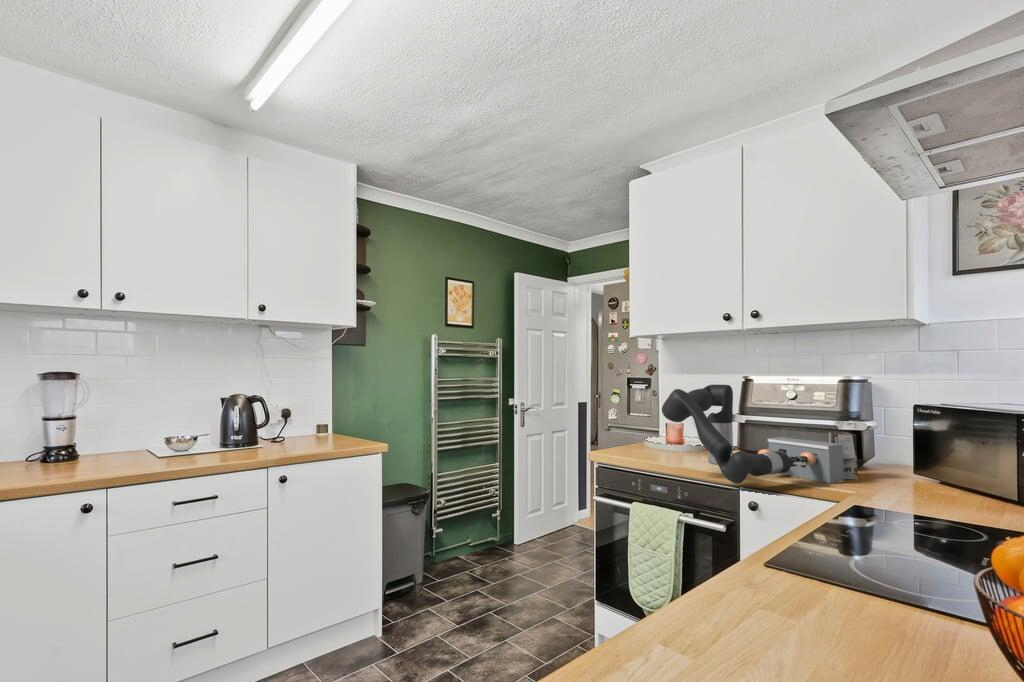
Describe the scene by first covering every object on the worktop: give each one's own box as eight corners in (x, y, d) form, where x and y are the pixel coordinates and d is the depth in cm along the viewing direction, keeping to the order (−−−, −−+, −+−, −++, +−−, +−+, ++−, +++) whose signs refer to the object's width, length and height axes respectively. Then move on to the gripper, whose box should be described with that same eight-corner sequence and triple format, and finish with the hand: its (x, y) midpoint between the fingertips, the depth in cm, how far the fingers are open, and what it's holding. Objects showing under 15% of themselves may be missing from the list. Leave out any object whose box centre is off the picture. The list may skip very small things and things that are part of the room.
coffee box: (858, 479, 194) (857, 434, 195) (839, 479, 195) (837, 434, 196) (848, 474, 203) (846, 431, 204) (829, 474, 204) (828, 431, 205)
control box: (768, 472, 209) (767, 438, 209) (783, 470, 212) (782, 437, 213) (829, 483, 187) (828, 446, 188) (844, 481, 191) (842, 444, 192)
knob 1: (757, 460, 201) (757, 448, 201) (779, 458, 206) (779, 446, 206) (768, 462, 197) (767, 450, 197) (789, 460, 202) (789, 448, 203)
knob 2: (799, 464, 193) (799, 451, 193) (820, 461, 199) (820, 449, 199) (811, 466, 189) (810, 453, 189) (832, 463, 195) (832, 451, 195)
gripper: (789, 454, 178) (822, 450, 186) (755, 449, 190) (787, 446, 197) (790, 477, 177) (823, 472, 185) (755, 471, 189) (788, 466, 197)
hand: (805, 459), depth 191 cm, fingers closed
